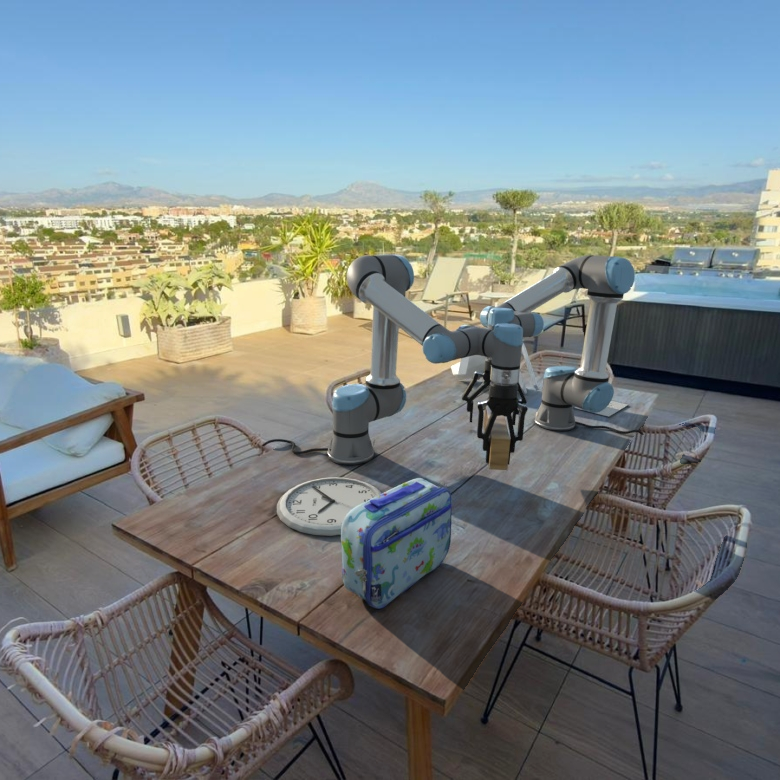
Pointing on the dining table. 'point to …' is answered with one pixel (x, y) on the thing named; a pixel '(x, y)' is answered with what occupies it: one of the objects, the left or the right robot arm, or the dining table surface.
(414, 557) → the lunch box
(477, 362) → the white plastic object
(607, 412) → the invitation card
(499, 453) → the bar
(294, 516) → the wall clock
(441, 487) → the fork
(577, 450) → the dining table surface
